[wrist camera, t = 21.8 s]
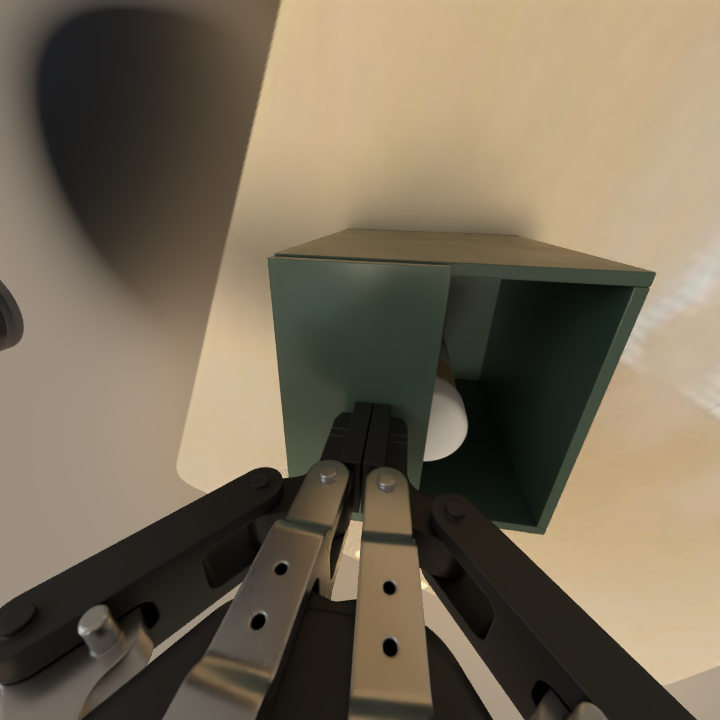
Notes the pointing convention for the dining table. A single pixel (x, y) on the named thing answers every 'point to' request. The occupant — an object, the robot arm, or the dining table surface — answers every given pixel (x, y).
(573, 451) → the chute
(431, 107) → the dining table surface
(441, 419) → the sprinkles bottle
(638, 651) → the dining table surface
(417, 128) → the dining table surface
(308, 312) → the chute flap
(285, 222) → the dining table surface
